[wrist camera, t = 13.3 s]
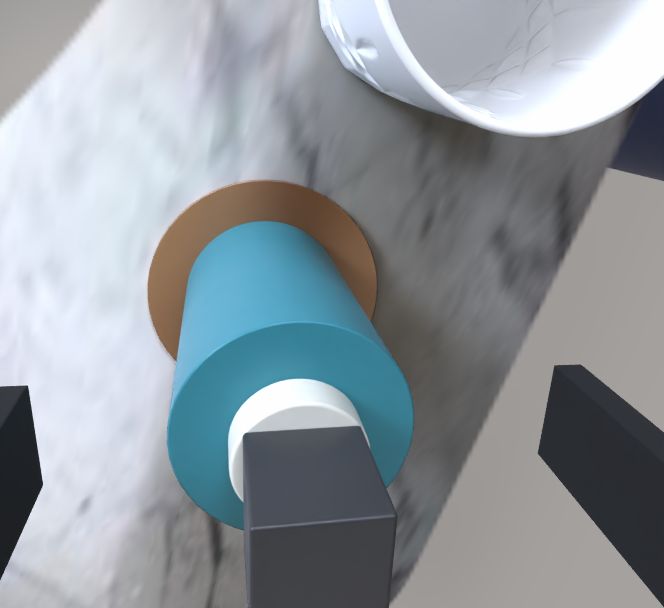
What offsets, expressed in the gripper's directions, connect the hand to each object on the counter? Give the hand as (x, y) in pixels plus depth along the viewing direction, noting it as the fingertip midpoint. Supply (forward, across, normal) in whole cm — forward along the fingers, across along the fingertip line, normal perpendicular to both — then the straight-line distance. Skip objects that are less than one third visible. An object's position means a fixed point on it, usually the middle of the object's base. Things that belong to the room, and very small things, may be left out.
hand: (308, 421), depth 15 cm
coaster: (+10, 0, 0) cm, 10 cm away
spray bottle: (+9, -1, 0) cm, 9 cm away
